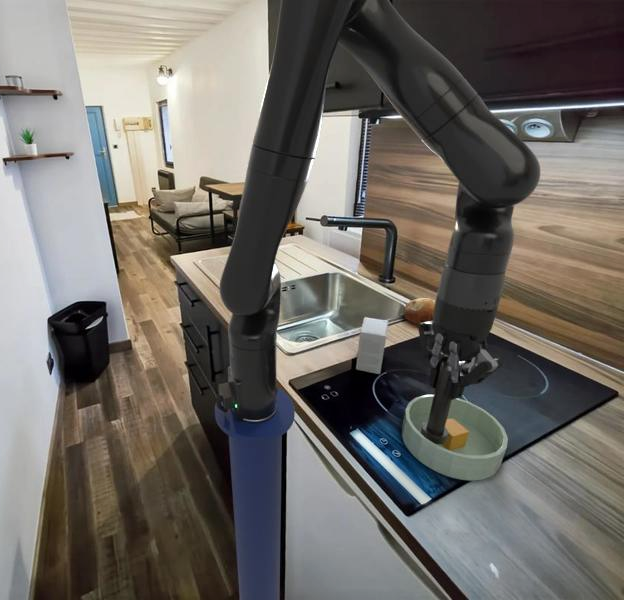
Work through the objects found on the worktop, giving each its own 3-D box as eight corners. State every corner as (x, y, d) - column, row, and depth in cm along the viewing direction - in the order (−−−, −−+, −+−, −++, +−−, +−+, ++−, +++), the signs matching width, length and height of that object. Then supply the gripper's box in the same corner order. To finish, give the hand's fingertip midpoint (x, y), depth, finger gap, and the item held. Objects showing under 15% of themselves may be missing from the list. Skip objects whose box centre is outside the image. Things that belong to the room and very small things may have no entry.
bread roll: (428, 322, 112) (425, 296, 112) (453, 323, 102) (450, 295, 102) (399, 326, 111) (396, 300, 111) (421, 328, 101) (418, 299, 101)
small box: (359, 352, 93) (364, 316, 89) (383, 357, 91) (388, 320, 87) (355, 369, 87) (359, 331, 82) (380, 375, 85) (386, 336, 80)
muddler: (432, 446, 61) (450, 376, 55) (415, 430, 65) (429, 362, 59) (452, 441, 62) (471, 371, 56) (434, 424, 65) (450, 357, 59)
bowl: (446, 491, 57) (453, 469, 55) (384, 424, 71) (387, 404, 69) (522, 466, 61) (531, 444, 58) (449, 407, 74) (454, 387, 72)
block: (448, 451, 63) (452, 436, 62) (433, 436, 67) (436, 422, 65) (465, 446, 64) (469, 431, 63) (448, 432, 67) (452, 417, 66)
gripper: (410, 282, 57) (395, 372, 65) (490, 321, 45) (460, 427, 52) (449, 275, 59) (430, 364, 66) (537, 311, 47) (502, 415, 54)
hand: (444, 391), depth 59 cm, fingers closed on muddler, 2 cm apart
